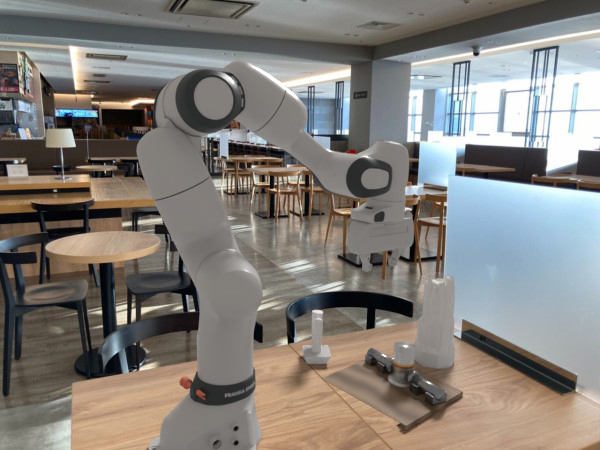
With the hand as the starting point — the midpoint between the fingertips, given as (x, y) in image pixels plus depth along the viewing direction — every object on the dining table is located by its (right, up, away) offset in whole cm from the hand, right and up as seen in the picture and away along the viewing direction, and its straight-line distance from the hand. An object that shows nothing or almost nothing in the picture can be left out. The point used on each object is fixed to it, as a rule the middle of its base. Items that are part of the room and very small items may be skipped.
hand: (379, 268), depth 116 cm
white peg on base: (-15, -27, +16) cm, 35 cm away
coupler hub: (+6, -28, +5) cm, 29 cm away
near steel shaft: (+11, -30, -2) cm, 32 cm away
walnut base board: (+3, -30, +3) cm, 30 cm away
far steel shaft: (+2, -27, +12) cm, 29 cm away
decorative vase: (+18, -27, +19) cm, 38 cm away
